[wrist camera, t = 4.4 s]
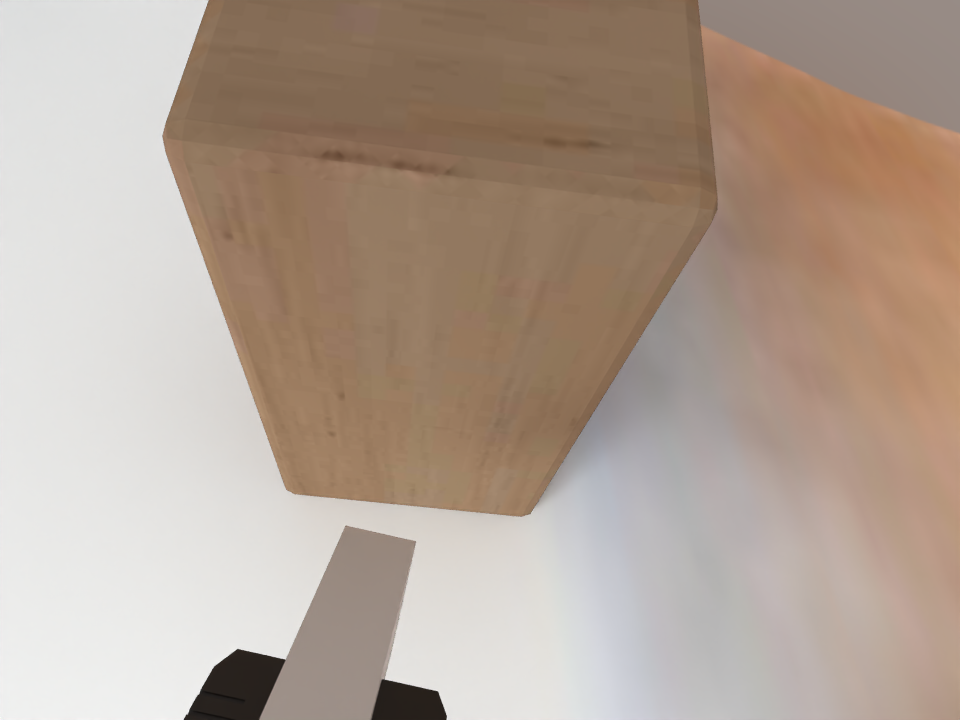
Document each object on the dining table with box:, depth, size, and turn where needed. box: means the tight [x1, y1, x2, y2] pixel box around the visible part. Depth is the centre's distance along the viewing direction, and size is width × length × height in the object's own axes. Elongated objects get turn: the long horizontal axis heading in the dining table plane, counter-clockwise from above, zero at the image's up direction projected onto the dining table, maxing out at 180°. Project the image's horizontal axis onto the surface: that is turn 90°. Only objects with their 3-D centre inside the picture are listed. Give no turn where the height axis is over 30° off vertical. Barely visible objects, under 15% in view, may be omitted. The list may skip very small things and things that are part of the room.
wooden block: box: [163, 0, 717, 517], centre depth 24 cm, size 10×10×20 cm
